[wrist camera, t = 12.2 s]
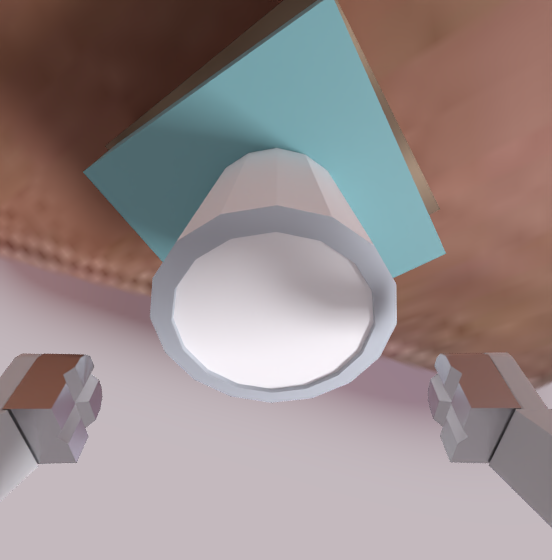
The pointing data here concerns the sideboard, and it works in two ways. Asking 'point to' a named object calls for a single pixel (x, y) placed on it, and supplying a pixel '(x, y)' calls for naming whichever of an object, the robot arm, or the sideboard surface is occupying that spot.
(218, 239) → the white rimmed cylinder
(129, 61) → the sideboard surface
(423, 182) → the tower base block
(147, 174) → the tower top block
